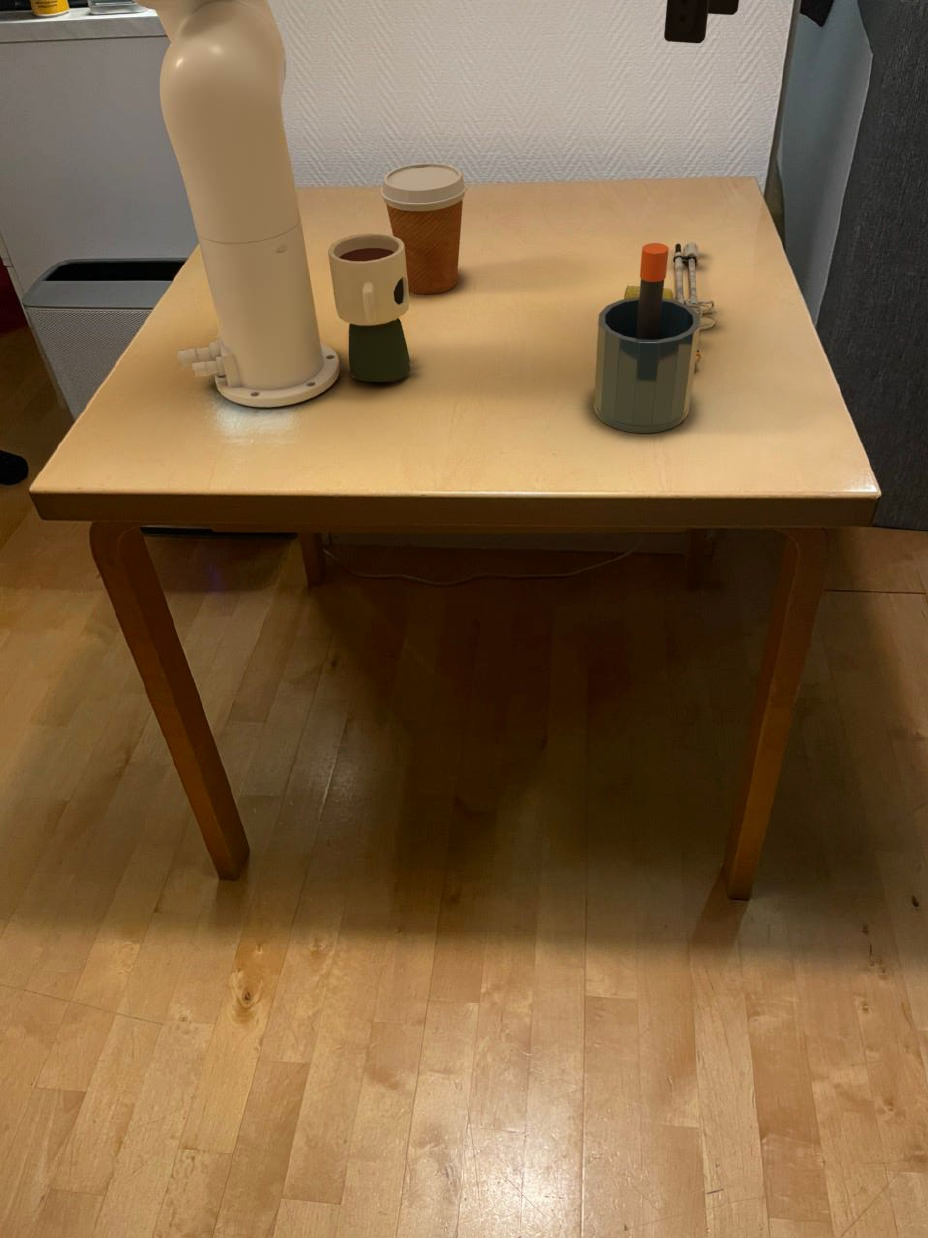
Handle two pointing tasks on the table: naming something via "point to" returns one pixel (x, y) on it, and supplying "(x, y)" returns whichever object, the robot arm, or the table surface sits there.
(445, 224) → the disposable coffee cup
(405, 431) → the table surface
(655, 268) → the marker
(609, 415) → the pencil cup
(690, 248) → the flamethrower
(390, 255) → the character mug
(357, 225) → the table surface
